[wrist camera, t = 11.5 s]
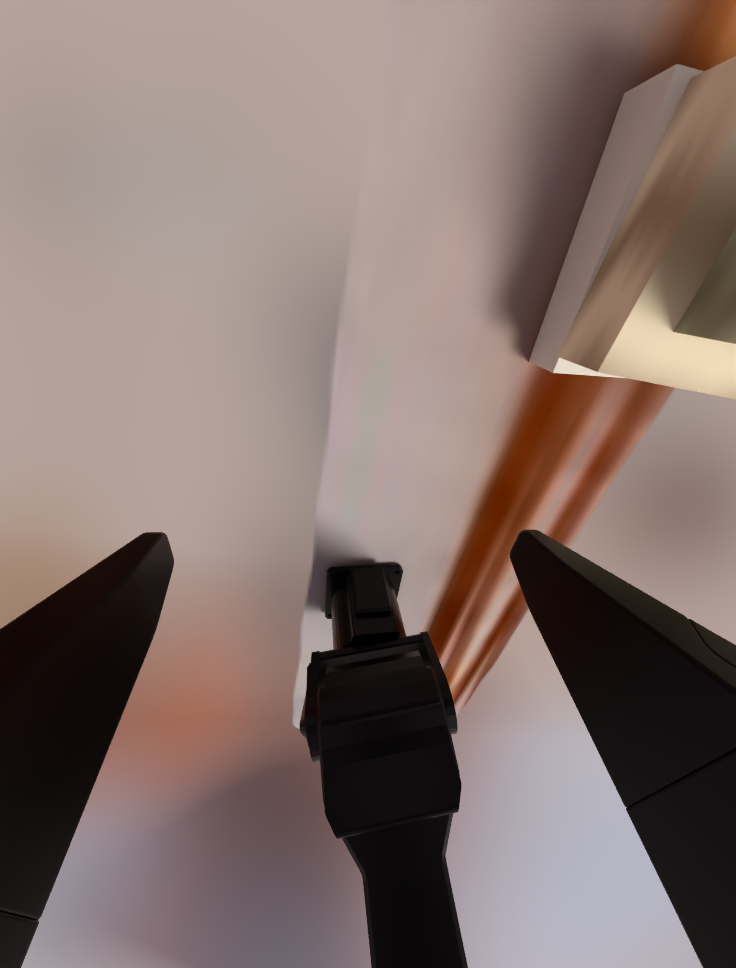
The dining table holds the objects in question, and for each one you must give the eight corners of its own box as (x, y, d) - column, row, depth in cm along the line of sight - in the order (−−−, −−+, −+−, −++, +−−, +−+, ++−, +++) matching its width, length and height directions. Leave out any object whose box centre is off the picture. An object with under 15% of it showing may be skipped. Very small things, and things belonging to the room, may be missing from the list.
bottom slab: (670, 371, 22) (714, 384, 20) (523, 359, 20) (552, 372, 18) (804, 144, 16) (893, 122, 14) (614, 98, 14) (676, 63, 12)
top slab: (697, 385, 20) (752, 402, 17) (556, 356, 17) (597, 372, 15) (862, 159, 14) (977, 138, 12) (691, 77, 12) (788, 29, 10)
